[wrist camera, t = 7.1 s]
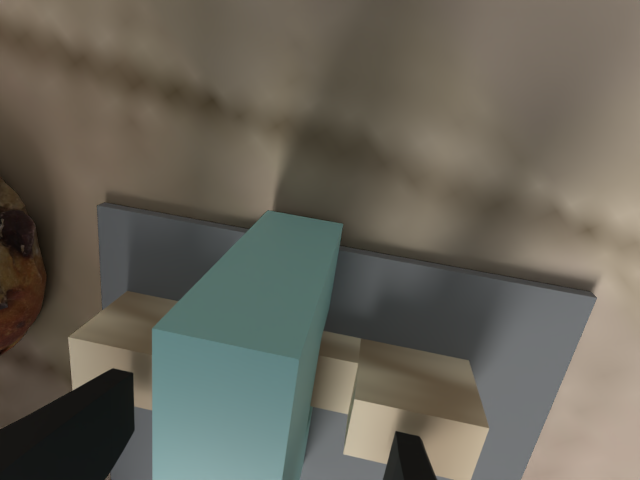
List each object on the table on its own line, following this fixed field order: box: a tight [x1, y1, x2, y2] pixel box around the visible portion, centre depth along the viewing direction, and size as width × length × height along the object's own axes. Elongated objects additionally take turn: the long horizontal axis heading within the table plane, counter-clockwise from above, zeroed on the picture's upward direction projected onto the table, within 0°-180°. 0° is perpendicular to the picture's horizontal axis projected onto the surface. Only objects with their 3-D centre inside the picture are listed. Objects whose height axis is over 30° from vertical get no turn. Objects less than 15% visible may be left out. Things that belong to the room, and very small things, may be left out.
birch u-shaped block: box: [68, 291, 489, 480], centre depth 13 cm, size 12×2×3 cm, turn 82°
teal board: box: [152, 210, 343, 480], centre depth 12 cm, size 2×10×7 cm, turn 172°
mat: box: [97, 202, 597, 480], centre depth 17 cm, size 16×20×1 cm
